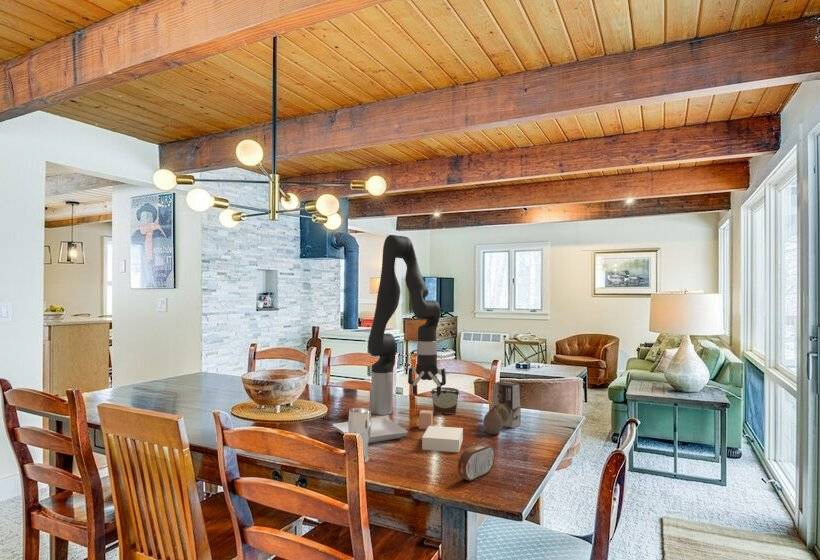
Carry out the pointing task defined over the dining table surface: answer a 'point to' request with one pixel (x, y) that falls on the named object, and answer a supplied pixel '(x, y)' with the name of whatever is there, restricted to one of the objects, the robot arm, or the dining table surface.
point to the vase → (492, 422)
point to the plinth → (442, 439)
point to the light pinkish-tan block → (425, 419)
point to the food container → (445, 400)
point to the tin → (476, 461)
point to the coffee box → (508, 402)
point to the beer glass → (361, 426)
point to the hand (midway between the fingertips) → (427, 395)
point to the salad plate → (377, 429)
